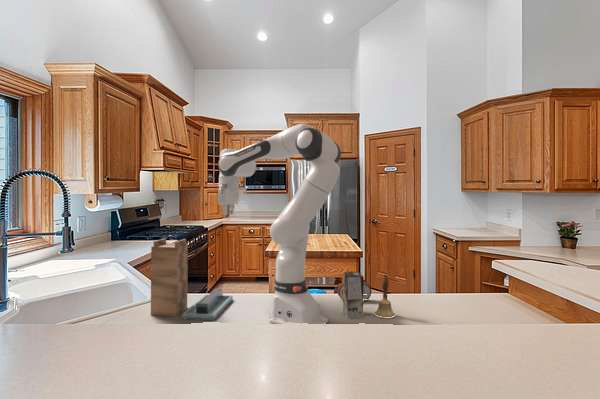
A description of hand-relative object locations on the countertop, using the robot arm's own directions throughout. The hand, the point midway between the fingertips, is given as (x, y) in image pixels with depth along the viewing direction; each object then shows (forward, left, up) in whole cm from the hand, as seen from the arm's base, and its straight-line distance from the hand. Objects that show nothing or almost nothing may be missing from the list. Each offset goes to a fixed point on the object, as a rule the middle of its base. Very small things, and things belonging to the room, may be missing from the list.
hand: (228, 214), depth 156 cm
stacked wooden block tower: (-4, +29, -37) cm, 47 cm away
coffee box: (-55, -22, -37) cm, 70 cm away
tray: (-12, +16, -37) cm, 42 cm away
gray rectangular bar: (-11, +15, -36) cm, 40 cm away
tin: (-45, -37, -37) cm, 69 cm away
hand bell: (-64, -31, -37) cm, 80 cm away
